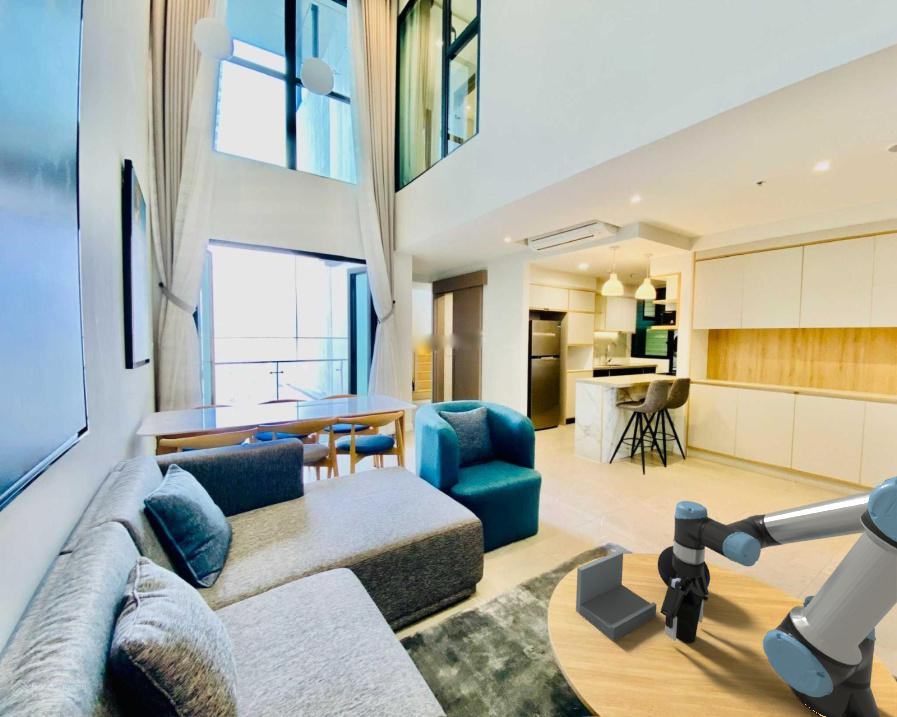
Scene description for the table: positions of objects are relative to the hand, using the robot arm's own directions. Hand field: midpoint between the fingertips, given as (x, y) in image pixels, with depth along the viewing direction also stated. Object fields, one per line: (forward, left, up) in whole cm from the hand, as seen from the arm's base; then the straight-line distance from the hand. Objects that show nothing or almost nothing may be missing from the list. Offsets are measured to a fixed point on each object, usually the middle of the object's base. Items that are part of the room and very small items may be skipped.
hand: (683, 628), depth 108 cm
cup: (0, 0, -2) cm, 2 cm away
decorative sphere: (+11, -19, -2) cm, 22 cm away
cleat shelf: (+15, +10, -2) cm, 18 cm away
